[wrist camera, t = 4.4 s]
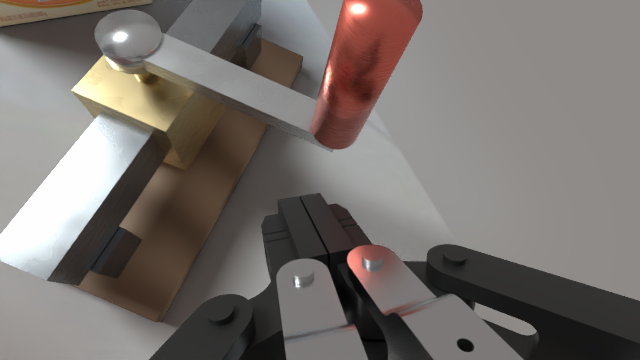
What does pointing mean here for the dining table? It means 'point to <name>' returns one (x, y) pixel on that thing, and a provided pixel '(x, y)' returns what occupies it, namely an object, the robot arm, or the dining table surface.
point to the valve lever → (268, 96)
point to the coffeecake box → (56, 9)
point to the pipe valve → (125, 151)
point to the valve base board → (188, 204)
